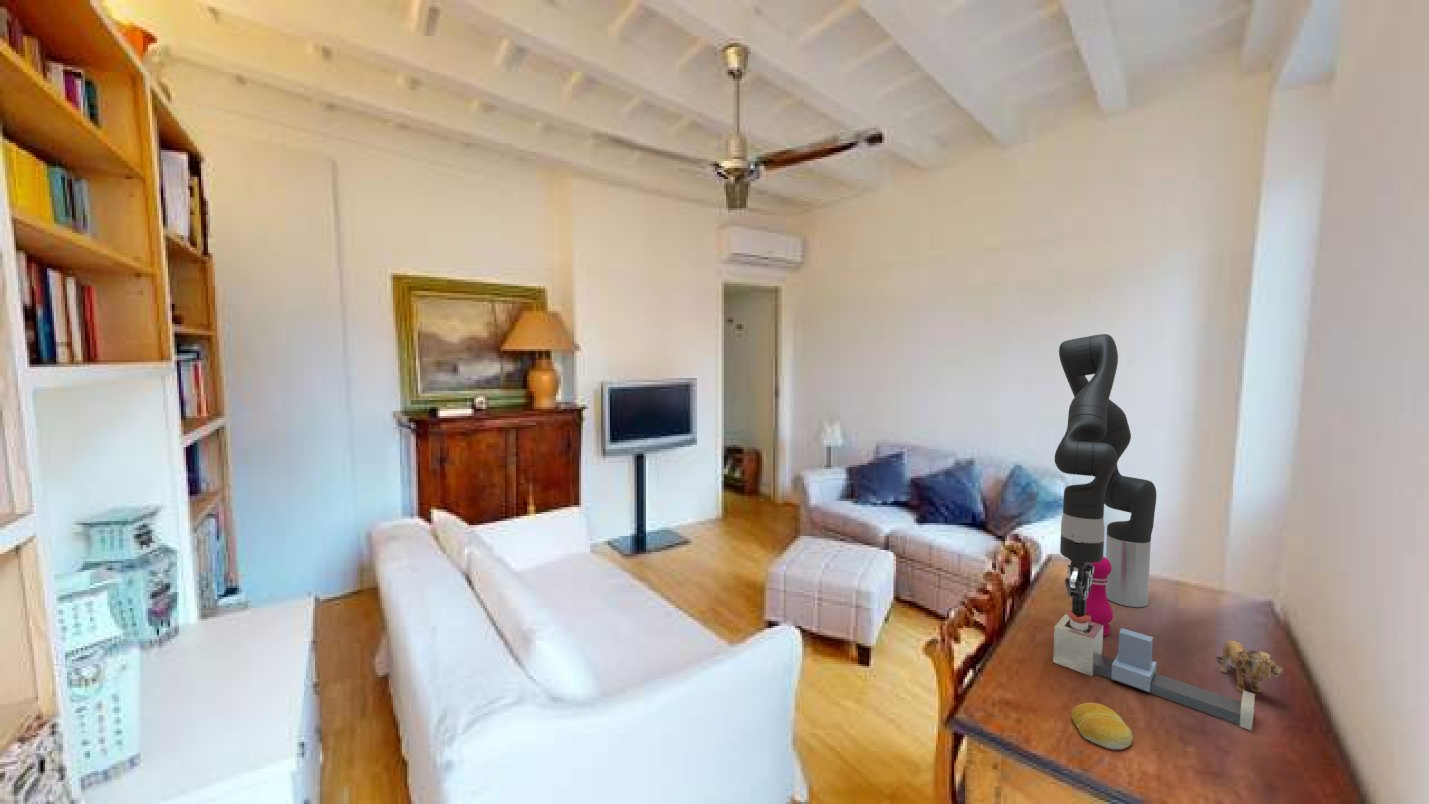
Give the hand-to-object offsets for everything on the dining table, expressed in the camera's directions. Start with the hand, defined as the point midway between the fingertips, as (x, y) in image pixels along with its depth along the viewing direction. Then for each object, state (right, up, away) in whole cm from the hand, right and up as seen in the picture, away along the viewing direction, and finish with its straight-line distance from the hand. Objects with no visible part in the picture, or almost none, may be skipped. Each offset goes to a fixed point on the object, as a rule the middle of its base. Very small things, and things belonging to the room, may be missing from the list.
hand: (1078, 614), depth 113 cm
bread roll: (-10, -13, -20) cm, 26 cm away
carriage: (+7, -11, -6) cm, 14 cm away
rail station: (+8, -11, -8) cm, 16 cm away
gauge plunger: (0, -6, 0) cm, 6 cm away
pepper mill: (+13, -9, +14) cm, 21 cm away
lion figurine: (+28, -11, -7) cm, 31 cm away
